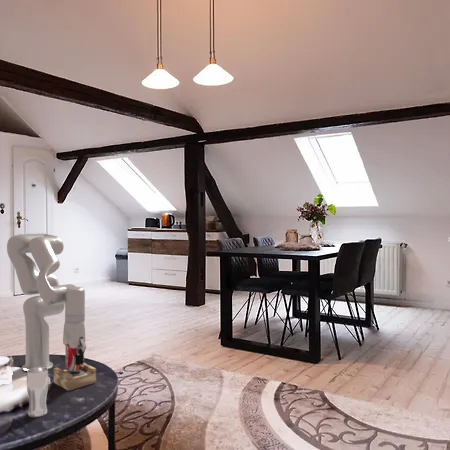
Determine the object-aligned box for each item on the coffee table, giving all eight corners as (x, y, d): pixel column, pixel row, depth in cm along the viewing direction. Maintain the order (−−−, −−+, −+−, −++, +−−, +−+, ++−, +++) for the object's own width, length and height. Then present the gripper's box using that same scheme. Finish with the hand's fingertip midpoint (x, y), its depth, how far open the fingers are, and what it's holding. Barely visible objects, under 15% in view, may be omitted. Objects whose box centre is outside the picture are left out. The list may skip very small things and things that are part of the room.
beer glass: (27, 410, 158) (27, 367, 158) (48, 407, 161) (48, 365, 160) (26, 419, 152) (26, 374, 151) (48, 416, 154) (48, 372, 154)
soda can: (78, 373, 181) (78, 343, 180) (61, 372, 182) (62, 342, 182) (87, 367, 187) (87, 338, 187) (71, 366, 189) (71, 337, 188)
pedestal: (53, 382, 184) (53, 368, 184) (80, 374, 193) (80, 361, 193) (68, 390, 176) (68, 375, 176) (96, 382, 185) (96, 368, 185)
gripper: (55, 316, 187) (55, 359, 188) (77, 323, 175) (77, 369, 176) (72, 313, 193) (72, 355, 193) (94, 320, 181) (94, 365, 181)
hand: (74, 361), depth 185 cm, fingers closed on soda can, 7 cm apart
